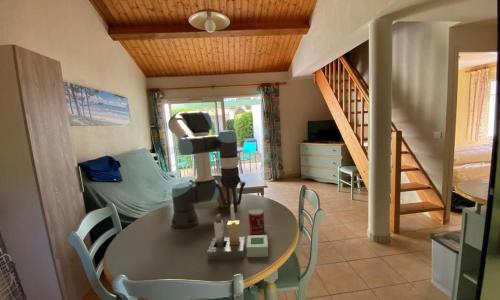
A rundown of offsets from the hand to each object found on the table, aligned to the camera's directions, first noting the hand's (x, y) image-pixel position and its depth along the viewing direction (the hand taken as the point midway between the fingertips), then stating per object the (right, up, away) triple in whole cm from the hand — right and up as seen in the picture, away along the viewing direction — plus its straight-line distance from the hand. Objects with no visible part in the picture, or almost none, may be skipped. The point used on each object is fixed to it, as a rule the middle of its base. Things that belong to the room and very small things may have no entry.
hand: (233, 219), depth 103 cm
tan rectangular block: (+1, -11, +1) cm, 11 cm away
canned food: (+11, -12, +19) cm, 25 cm away
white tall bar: (-6, -15, +2) cm, 16 cm away
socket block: (-3, -15, +2) cm, 15 cm away
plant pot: (-10, -8, +60) cm, 61 cm away
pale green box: (+11, -14, +1) cm, 18 cm away
